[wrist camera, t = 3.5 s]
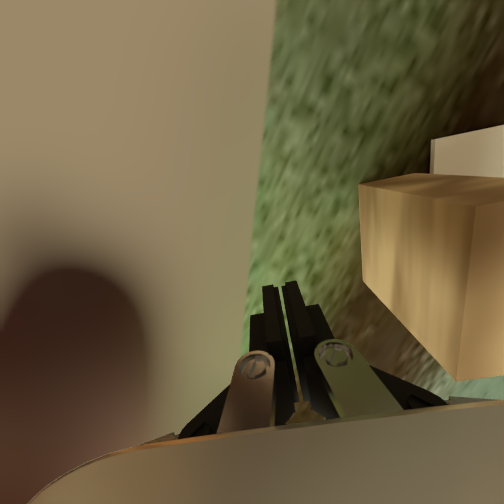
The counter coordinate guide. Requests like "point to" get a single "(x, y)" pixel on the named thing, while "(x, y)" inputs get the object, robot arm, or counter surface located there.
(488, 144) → the plastic mat
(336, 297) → the counter surface
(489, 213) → the wood block
